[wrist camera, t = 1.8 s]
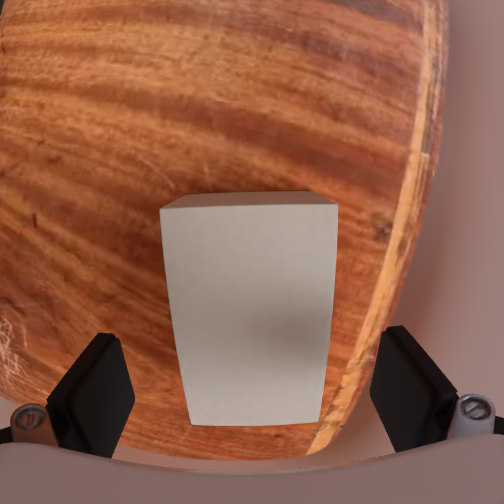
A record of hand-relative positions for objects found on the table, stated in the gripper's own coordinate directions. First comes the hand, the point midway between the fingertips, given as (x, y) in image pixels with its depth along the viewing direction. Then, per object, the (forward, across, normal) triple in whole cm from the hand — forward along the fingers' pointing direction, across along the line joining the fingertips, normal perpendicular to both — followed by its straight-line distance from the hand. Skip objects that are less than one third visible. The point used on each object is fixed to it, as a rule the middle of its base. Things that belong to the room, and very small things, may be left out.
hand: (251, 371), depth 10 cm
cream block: (+6, 0, 0) cm, 6 cm away
